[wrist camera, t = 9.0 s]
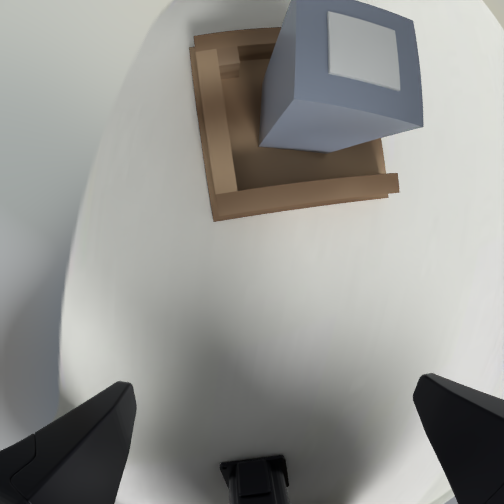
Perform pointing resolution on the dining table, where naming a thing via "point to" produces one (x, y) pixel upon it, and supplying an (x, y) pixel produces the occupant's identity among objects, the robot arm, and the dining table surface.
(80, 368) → the dining table surface
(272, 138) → the grey tall block
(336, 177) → the pocket
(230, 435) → the dining table surface
